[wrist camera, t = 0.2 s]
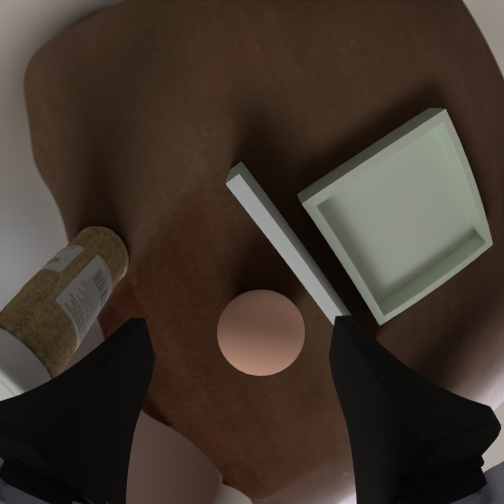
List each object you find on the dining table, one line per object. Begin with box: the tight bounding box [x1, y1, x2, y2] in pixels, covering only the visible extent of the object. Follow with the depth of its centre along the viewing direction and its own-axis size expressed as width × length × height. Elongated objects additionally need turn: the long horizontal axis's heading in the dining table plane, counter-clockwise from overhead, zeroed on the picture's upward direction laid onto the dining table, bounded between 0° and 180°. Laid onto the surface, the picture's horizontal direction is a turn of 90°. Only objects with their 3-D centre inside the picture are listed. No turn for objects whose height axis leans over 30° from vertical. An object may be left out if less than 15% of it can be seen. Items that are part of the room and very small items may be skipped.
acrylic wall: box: [226, 161, 352, 325], centre depth 20 cm, size 18×1×4 cm, turn 36°
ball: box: [217, 289, 305, 376], centre depth 20 cm, size 6×6×6 cm
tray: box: [297, 108, 493, 325], centre depth 19 cm, size 11×11×2 cm
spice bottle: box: [0, 226, 129, 401], centre depth 15 cm, size 5×5×14 cm
